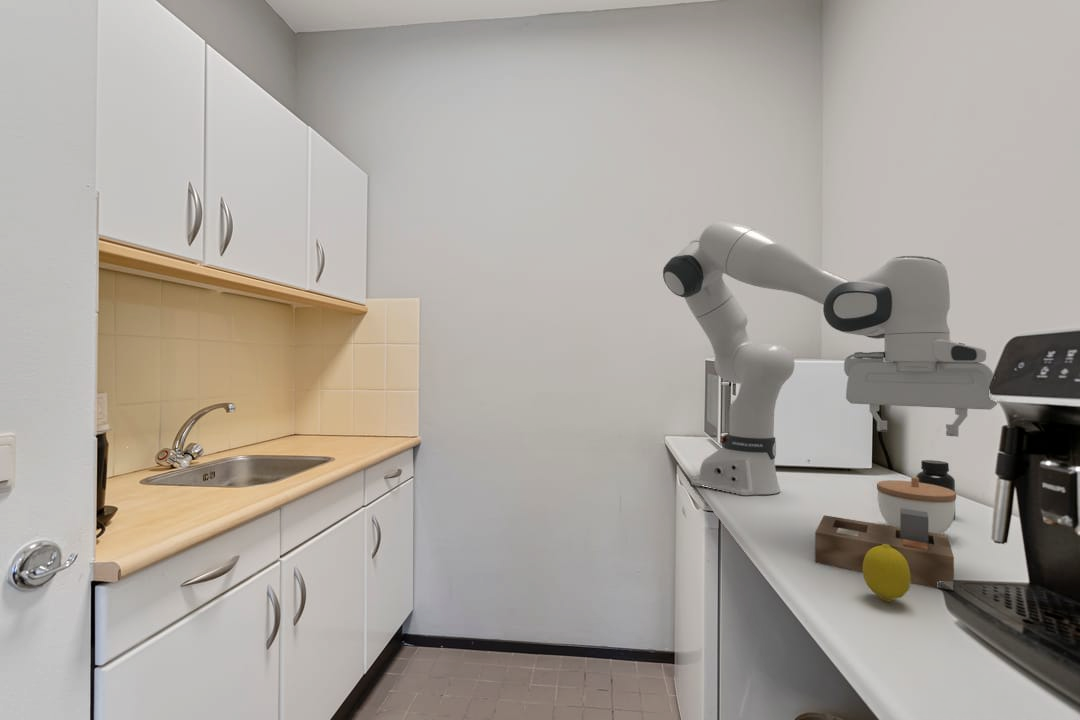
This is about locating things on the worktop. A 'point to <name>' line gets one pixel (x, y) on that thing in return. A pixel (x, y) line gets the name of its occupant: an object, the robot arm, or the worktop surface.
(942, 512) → the lidded bowl
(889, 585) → the lemon
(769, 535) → the worktop surface
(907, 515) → the plug
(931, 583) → the socket block
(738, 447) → the robot arm
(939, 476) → the supplement bottle
